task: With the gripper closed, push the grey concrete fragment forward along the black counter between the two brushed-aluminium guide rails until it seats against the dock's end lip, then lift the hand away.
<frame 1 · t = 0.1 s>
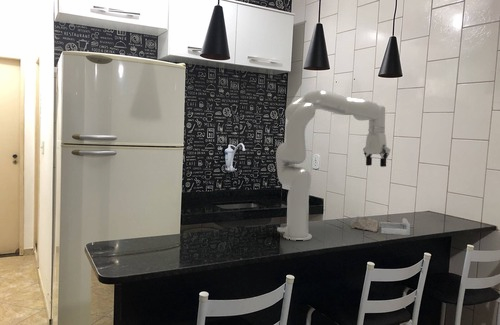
hand: (375, 166, 197), 31 cm above the counter, tool pointing down, fingers open, 9 cm apart
concrete fragment: (365, 230, 197), on the counter
dock: (393, 230, 194), on the counter
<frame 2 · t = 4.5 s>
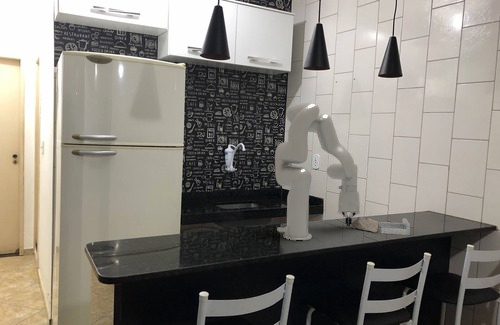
hand: (348, 225, 199), 1 cm above the counter, tool pointing down, fingers closed
concrete fragment: (366, 230, 196), on the counter, touching gripper
everything else where it was.
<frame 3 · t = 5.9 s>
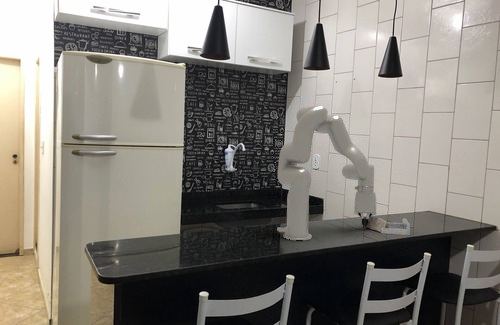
hand: (364, 226, 197), 1 cm above the counter, tool pointing down, fingers closed
concrete fragment: (376, 230, 197), on the counter, touching gripper
everything else where it was.
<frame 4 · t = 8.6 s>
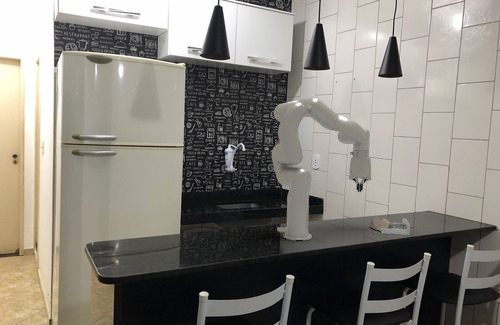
hand: (359, 191, 197), 18 cm above the counter, tool pointing down, fingers closed
concrete fragment: (380, 230, 196), on the counter
everything else where it was.
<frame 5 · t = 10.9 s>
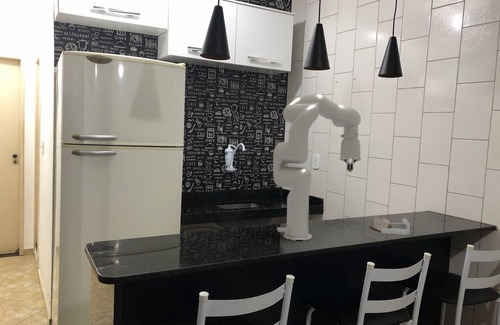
hand: (350, 171, 213), 27 cm above the counter, tool pointing down, fingers closed
nothing on the counter moved.
at the end: concrete fragment inside the target area on the dock (3.2 cm from its centre), point 0.0 cm above the dock's base; concrete fragment moved 7.2 cm from its start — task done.
